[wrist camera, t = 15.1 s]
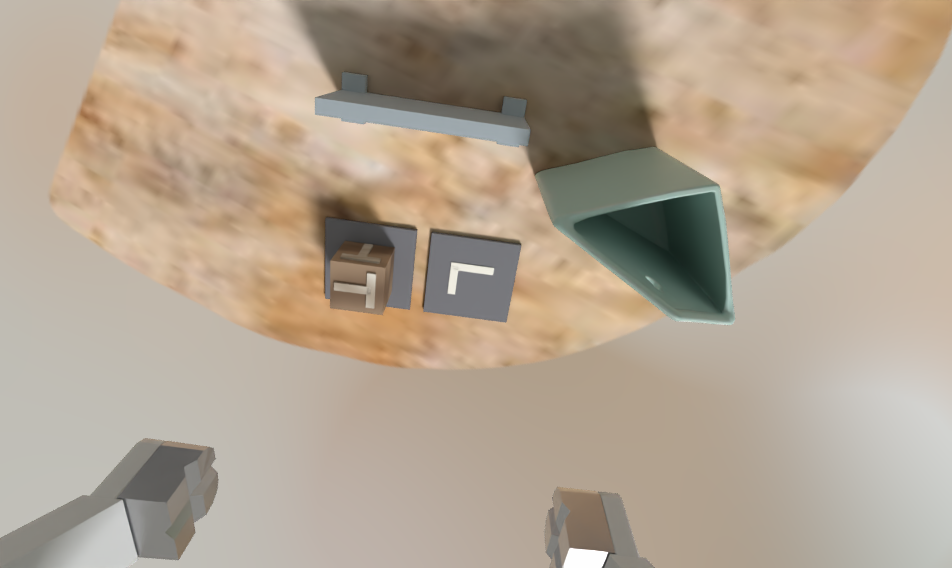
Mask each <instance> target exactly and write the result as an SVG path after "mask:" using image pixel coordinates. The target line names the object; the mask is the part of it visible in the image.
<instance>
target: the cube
mask: <svg viewBox="0 0 952 568" xmlns="http://www.w3.org/2000/svg"><path fill="white" fill-rule="evenodd" d="M394 253H395V247H388V246H380V245H373V244H366V243H359V242H351V241H344V243H343V244H342V245H341V247H340V248H339V249H338V251H337V252H336V254H335V255H334V256H333V258H332V259H331V260H330V308H333V309H340V310H348V311H355V312H363V313H371V314H378V315H383V312H384V310H385V307H386V305H387V302H388V300H389V297H390V295H391V292H392V281H393V267H394Z"/></svg>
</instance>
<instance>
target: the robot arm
mask: <svg viewBox="0 0 952 568" xmlns="http://www.w3.org/2000/svg"><path fill="white" fill-rule="evenodd" d="M215 459H216V458H215V453H214V448H211V447H206V446H198V445H192V444H185V443H178V442H171V441H162V440H155V439H148V438H145V439H143V440H142V441H140V442H138V443H137V444H136V445H135V446H134V447H133V448H132V449H131V450H130V452H129V453H128V454H127V455H126V456H125V457H124V458H123V459H122V461H121V462H120V463H119V464H118V465H117V466H116V467H115V468H114V470H113V471H112V472H111V473H110V474H109V475H108V476H107V477H106V478H105V480H104V481H103V482H102V483H101V484H100V485H99V486H98V487H97V488H96V490H95V491H94V492H93V493H92V494H91V495H90V496H87V495H82V496H80V497H79V498H77V499H75V500H73V501H71V502H69V503H67V504H65V505H63V506H61V507H59V508H57V509H56V510H53V511H52V512H50V513H48V514H46V515H44V516H42V517H40V518H38V519H36V520H34V521H32V522H30V523H28V524H26V525H24V526H22V527H20V528H19V529H17V530H15V531H13V532H11V533H9V534H7V535H5V536H3V537H1V538H0V568H128V567H129V566H131V565H132V564H133V563H134V562H136V561H137V560H138V557H144V558H157V559H169V560H179V559H180V557H181V555H182V554H183V552H184V551H185V549H186V547H187V546H188V544H189V542H190V541H191V539H192V537H193V535H194V534H195V527H194V522H196V521H197V520H199V519H200V518H202V517H203V516H205V515H206V514H207V512H208V511H209V509H210V507H211V506H212V504H213V501H214V498H215V495H216V493H217V489H218V473H217V472H216V470H215V469H214V468H213V467H212V466H211V465H212V463H213V462H214V460H215ZM552 500H553V506H554V507H553V508H552V509H550V510H549V511H548V514H547V518H546V524H545V548H546V553H547V554H548V556H549V557H550V558H551V564H550V567H549V568H655V567H654V566H653V565H652V564H651V563H650V562H649V561H648V560H647V559H646V558H643V557H639V553H638V550H637V547H636V544H635V540H634V537H633V534H632V531H631V528H630V524H629V521H628V518H627V515H626V511H625V508H624V505H623V502H622V498H621V497H620V495H619V494H616V493H607V492H596V491H591V490H582V489H572V488H561V487H557V488H556V489H555V491H554V494H553V497H552Z"/></svg>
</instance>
